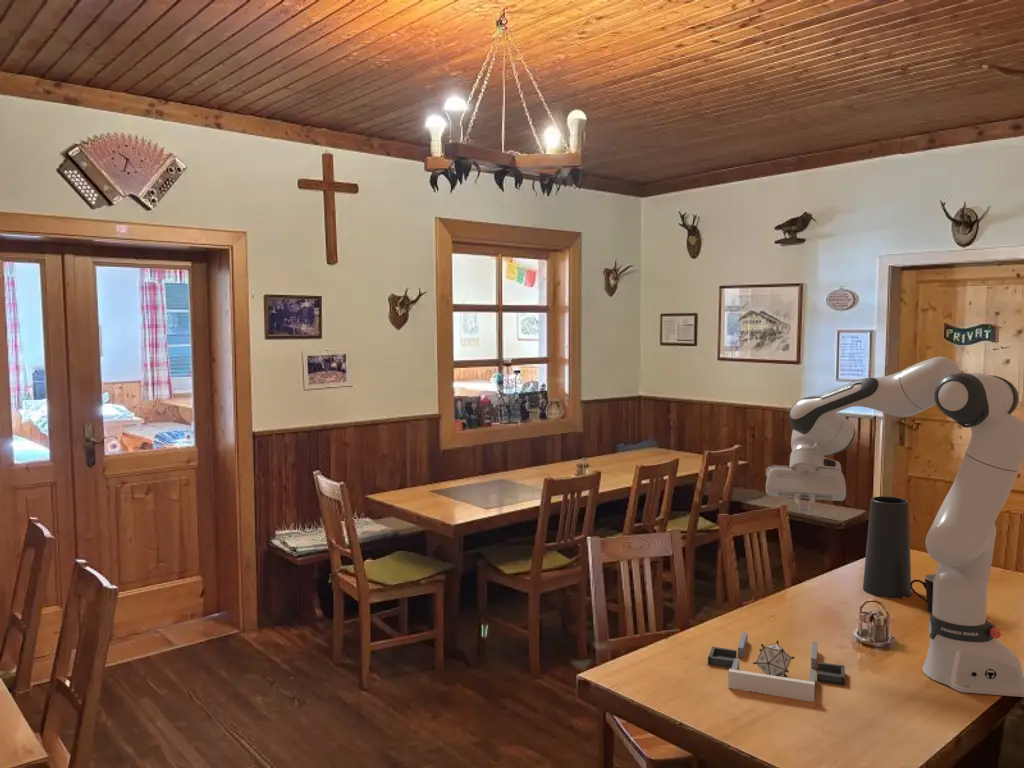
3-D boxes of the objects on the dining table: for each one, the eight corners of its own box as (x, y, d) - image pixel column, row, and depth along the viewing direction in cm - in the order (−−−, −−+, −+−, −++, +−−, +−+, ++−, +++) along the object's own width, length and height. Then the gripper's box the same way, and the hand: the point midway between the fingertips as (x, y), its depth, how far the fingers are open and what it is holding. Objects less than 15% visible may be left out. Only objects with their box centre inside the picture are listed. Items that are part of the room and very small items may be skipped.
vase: (859, 593, 247) (861, 501, 245) (867, 581, 258) (869, 493, 256) (907, 601, 240) (911, 506, 237) (914, 589, 251) (917, 498, 249)
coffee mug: (963, 614, 229) (964, 580, 228) (947, 620, 224) (948, 585, 224) (923, 602, 239) (924, 569, 238) (907, 608, 234) (908, 575, 233)
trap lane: (844, 655, 201) (844, 639, 201) (844, 707, 174) (845, 689, 174) (718, 637, 213) (718, 623, 213) (700, 683, 186) (700, 666, 185)
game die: (781, 694, 188) (801, 671, 182) (747, 680, 189) (765, 657, 183) (781, 663, 195) (800, 640, 189) (748, 649, 196) (766, 626, 190)
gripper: (766, 458, 220) (762, 500, 212) (846, 462, 213) (845, 506, 204) (767, 471, 225) (763, 513, 216) (846, 476, 217) (845, 520, 209)
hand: (804, 510), depth 210 cm, fingers closed
